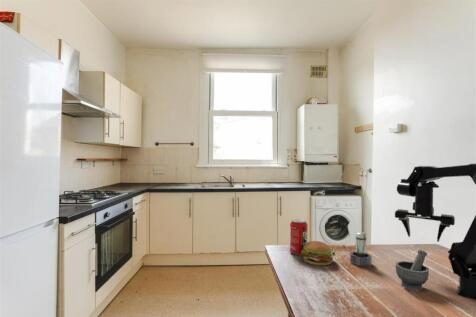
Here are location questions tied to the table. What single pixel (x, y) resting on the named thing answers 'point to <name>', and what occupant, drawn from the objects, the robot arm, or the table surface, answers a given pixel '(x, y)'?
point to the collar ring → (361, 260)
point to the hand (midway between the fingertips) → (423, 239)
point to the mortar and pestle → (413, 272)
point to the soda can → (298, 235)
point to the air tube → (360, 244)
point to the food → (317, 253)
